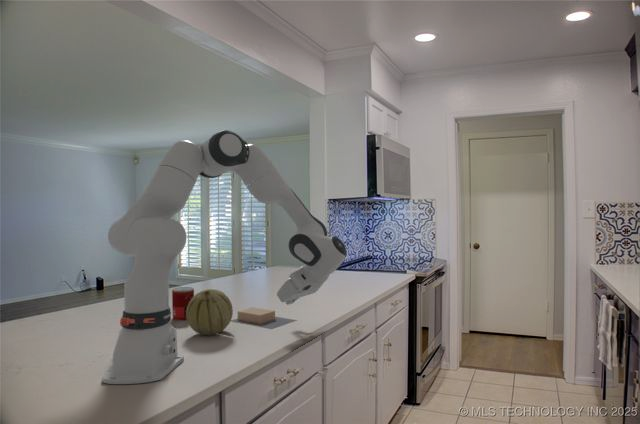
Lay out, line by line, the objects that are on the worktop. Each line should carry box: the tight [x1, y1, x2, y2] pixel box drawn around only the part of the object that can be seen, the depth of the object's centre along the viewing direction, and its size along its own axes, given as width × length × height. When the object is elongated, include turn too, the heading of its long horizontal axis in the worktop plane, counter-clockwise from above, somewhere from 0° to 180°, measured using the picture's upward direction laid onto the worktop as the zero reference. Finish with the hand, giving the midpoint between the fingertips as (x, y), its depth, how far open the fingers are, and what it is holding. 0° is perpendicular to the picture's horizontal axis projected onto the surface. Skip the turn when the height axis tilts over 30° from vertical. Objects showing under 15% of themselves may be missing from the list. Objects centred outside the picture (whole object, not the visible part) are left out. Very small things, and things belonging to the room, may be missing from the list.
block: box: [237, 306, 276, 324], centre depth 162 cm, size 3×8×11 cm
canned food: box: [171, 286, 195, 321], centre depth 168 cm, size 8×8×11 cm
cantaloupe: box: [186, 289, 234, 336], centre depth 145 cm, size 15×15×15 cm
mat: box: [230, 316, 297, 330], centre depth 161 cm, size 20×14×1 cm
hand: (288, 302), depth 154 cm, fingers closed
